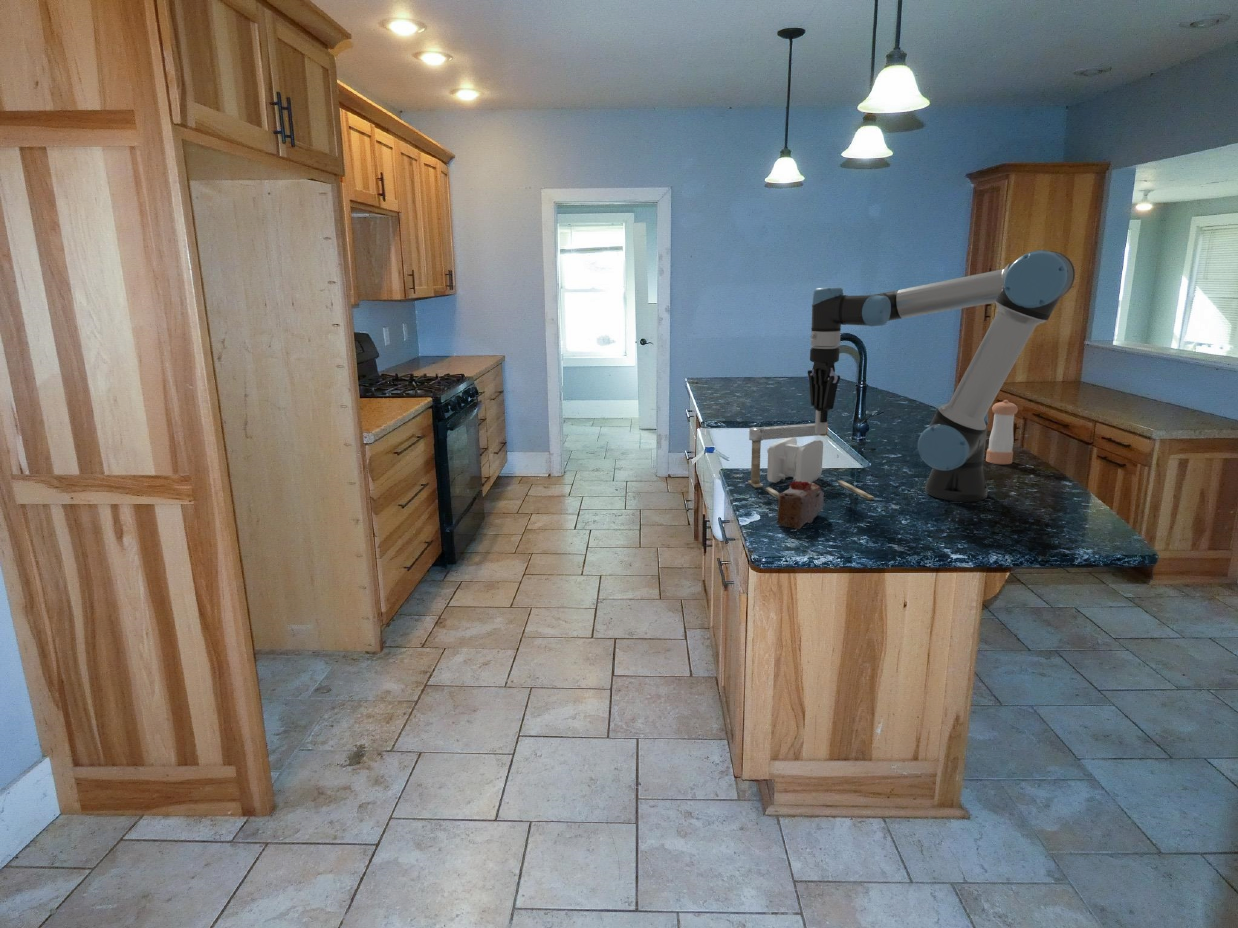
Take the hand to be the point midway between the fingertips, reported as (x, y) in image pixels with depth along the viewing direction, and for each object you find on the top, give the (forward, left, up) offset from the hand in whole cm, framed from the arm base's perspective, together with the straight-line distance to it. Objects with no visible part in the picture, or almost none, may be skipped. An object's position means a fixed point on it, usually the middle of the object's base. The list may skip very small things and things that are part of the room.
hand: (820, 433), depth 201 cm
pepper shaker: (+7, -65, -15) cm, 67 cm away
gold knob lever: (+7, +6, -2) cm, 9 cm away
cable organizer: (+7, +4, -15) cm, 17 cm away
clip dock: (-3, +5, -15) cm, 16 cm away
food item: (-24, +18, -16) cm, 34 cm away
